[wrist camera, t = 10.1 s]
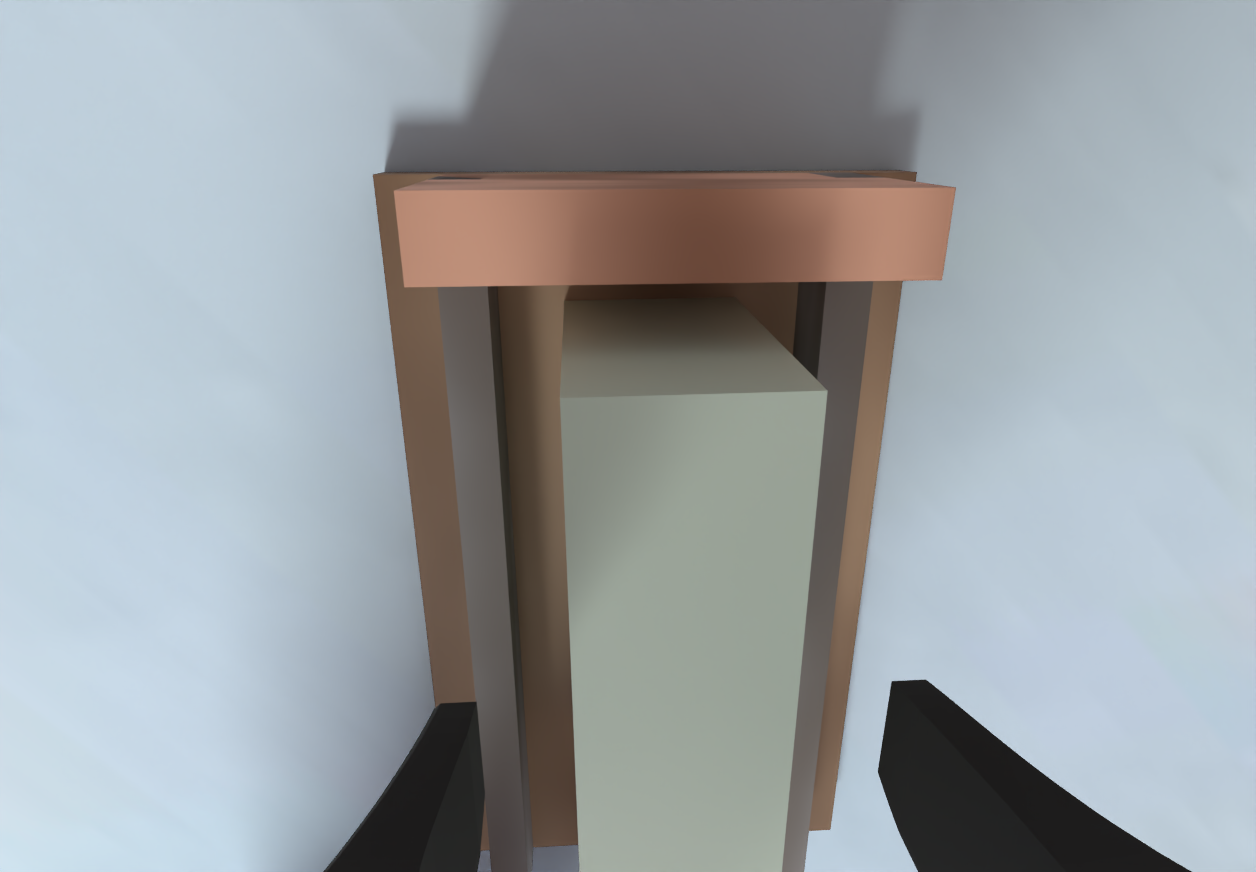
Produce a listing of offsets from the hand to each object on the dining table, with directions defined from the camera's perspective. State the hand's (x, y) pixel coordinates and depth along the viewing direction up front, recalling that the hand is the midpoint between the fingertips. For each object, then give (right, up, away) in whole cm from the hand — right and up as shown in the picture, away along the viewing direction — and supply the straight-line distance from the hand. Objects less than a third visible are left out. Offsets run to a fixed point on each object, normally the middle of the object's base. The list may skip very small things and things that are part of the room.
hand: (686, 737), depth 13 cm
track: (-1, +2, +8) cm, 8 cm away
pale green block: (0, +3, +7) cm, 7 cm away
